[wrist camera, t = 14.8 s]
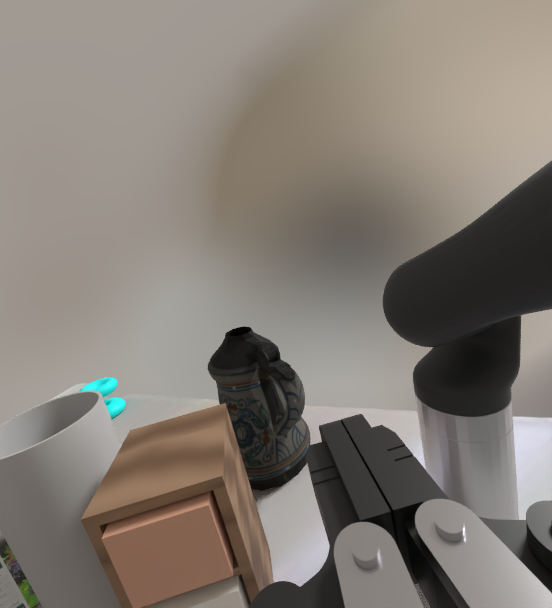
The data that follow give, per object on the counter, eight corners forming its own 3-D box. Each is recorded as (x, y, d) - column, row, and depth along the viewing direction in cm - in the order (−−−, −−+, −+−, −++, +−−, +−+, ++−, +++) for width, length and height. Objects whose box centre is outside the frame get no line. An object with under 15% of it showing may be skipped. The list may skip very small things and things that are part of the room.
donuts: (94, 378, 90) (122, 373, 89) (105, 406, 93) (133, 402, 91) (67, 396, 81) (99, 391, 79) (81, 427, 83) (112, 423, 81)
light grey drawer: (258, 651, 26) (238, 590, 24) (167, 684, 25) (140, 624, 24) (253, 574, 32) (237, 522, 30) (180, 600, 31) (159, 547, 30)
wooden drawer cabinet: (283, 666, 28) (222, 475, 23) (169, 709, 27) (80, 519, 22) (269, 549, 39) (225, 403, 34) (187, 577, 38) (130, 430, 33)
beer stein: (248, 425, 66) (218, 320, 60) (334, 426, 59) (309, 307, 53) (209, 488, 51) (165, 356, 46) (319, 499, 44) (282, 345, 38)
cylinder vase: (90, 682, 30) (-19, 480, 24) (43, 617, 37) (-51, 448, 31) (185, 559, 40) (122, 396, 34) (133, 526, 47) (74, 386, 41)
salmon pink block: (233, 575, 24) (208, 504, 22) (133, 609, 23) (101, 538, 22) (232, 509, 30) (213, 450, 28) (154, 535, 29) (129, 475, 28)
